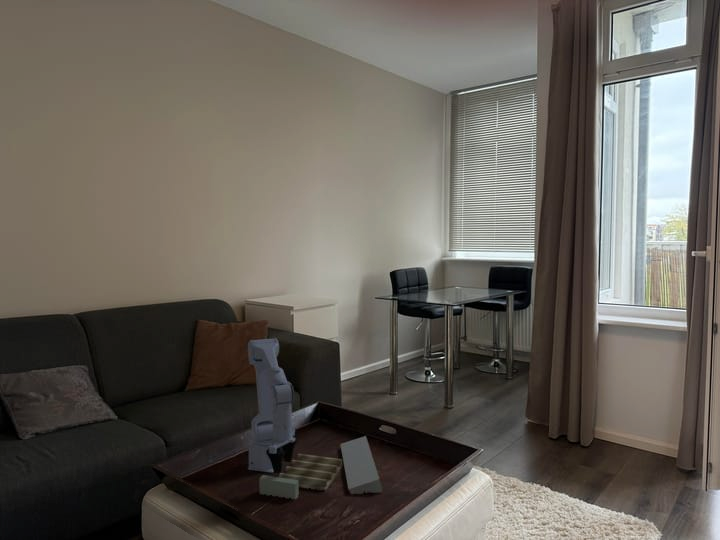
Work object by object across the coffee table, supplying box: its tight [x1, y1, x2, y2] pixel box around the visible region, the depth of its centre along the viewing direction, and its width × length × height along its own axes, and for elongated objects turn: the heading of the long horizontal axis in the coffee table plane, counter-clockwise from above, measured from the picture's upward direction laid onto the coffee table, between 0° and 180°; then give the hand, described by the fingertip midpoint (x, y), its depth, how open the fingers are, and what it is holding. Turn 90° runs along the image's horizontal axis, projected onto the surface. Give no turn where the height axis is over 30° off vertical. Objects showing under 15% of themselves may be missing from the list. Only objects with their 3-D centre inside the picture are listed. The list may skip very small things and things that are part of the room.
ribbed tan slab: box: [278, 453, 344, 492], centre depth 167 cm, size 16×17×3 cm
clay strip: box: [258, 474, 300, 500], centre depth 155 cm, size 12×2×5 cm, turn 74°
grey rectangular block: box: [340, 435, 383, 495], centre depth 172 cm, size 34×5×10 cm
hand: (282, 466), depth 155 cm, fingers open, 7 cm apart
